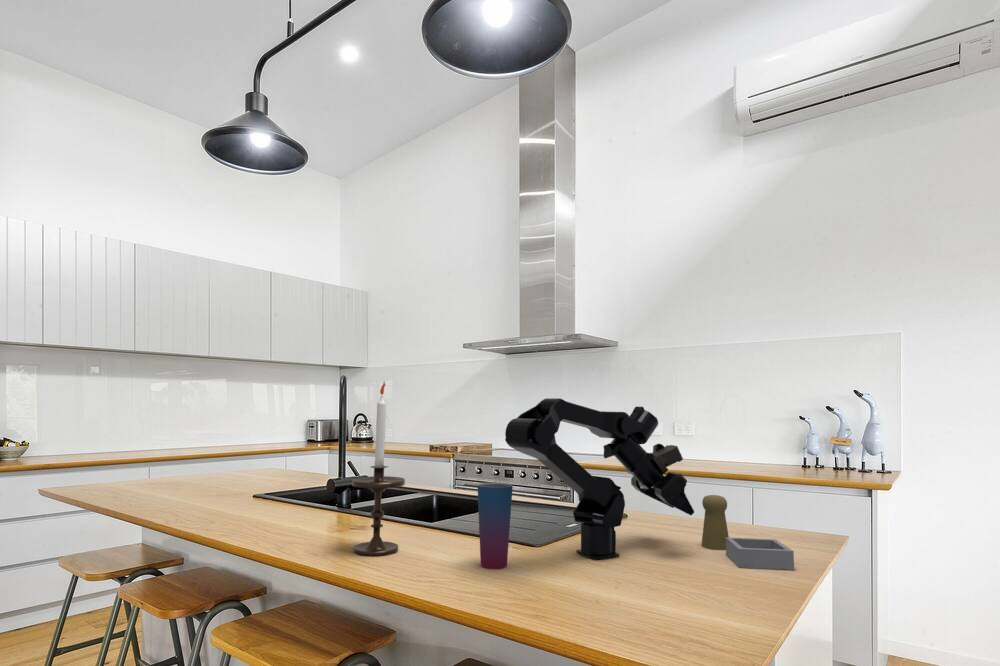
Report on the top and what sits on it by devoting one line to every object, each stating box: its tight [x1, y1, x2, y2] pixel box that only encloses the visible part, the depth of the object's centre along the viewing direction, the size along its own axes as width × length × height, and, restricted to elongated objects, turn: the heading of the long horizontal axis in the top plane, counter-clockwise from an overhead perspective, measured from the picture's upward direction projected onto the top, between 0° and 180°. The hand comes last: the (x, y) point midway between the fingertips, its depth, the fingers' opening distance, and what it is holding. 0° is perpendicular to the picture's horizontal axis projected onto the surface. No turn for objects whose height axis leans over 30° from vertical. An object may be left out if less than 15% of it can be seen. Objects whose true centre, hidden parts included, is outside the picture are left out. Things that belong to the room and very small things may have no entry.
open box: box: [725, 537, 795, 571], centre depth 119 cm, size 10×10×4 cm
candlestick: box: [351, 380, 406, 557], centre depth 125 cm, size 11×11×35 cm
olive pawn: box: [700, 494, 729, 551], centre depth 132 cm, size 6×6×11 cm
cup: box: [477, 481, 514, 570], centre depth 114 cm, size 7×7×15 cm
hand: (683, 509), depth 131 cm, fingers open, 9 cm apart
